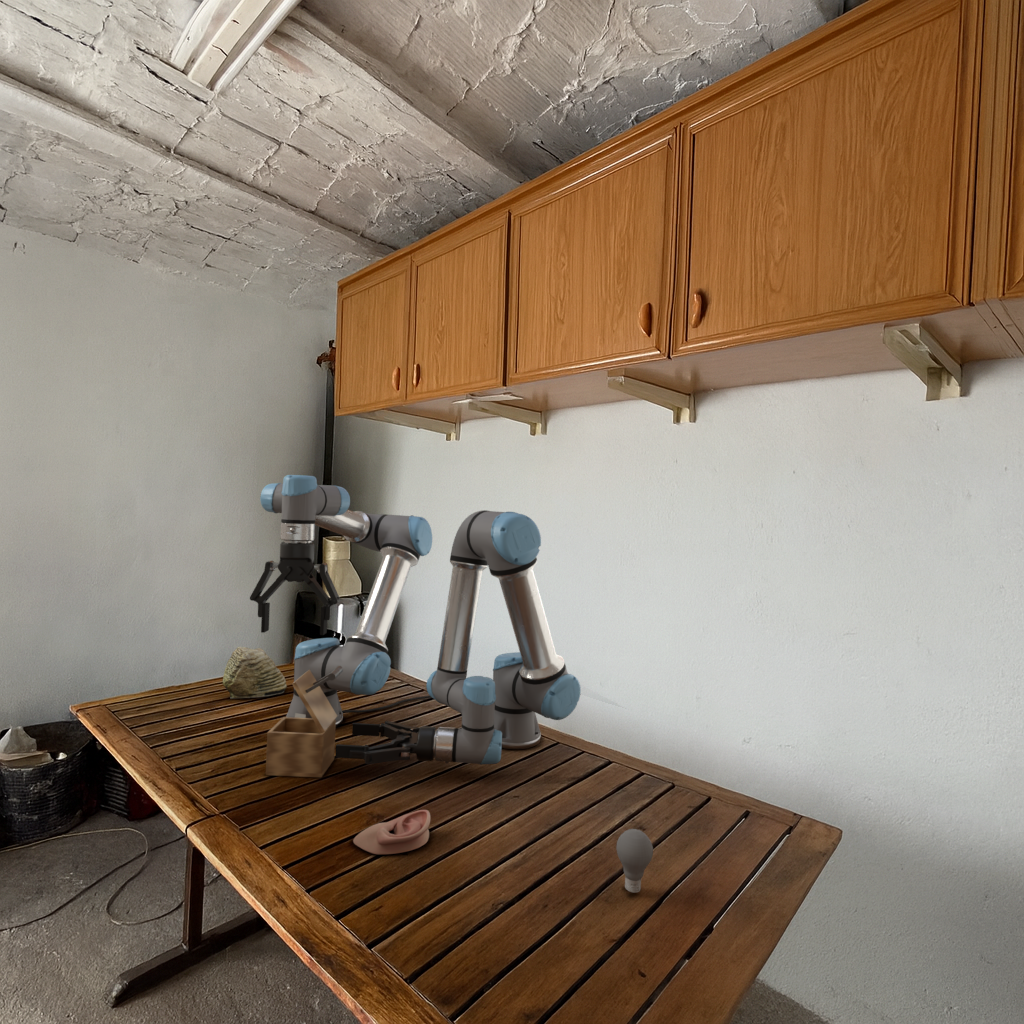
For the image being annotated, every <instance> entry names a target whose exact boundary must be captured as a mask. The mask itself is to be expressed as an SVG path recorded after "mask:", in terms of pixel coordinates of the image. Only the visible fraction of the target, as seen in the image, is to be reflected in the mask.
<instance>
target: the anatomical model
mask: <svg viewBox="0 0 1024 1024" xmlns="http://www.w3.org/2000/svg"><path fill="white" fill-rule="evenodd" d="M430 824H431V813H430V811H429V810H428V809H420V810H419V809H418V810H416V811H412V812H409V813H405V814H403V815H401V816H398V817H396V818H394V819H391V820H389V821H385V822H378V823H375V824H373V825H370V826H369V827H367V828H365V829H364V830H362V831H360V832H359V833H358V834H357V835H355V837H354V838H353V839H352V842H353V844H354V845H355V846H356V847H358V848H360V849H362V850H363V851H365V852H368V853H369V854H374V855H378V856H379V855H393V854H400V853H402V854H403V853H406V852H410V851H413V850H417V849H419V848H421V847H422V846H424V845H426V844H427V842H428V841H429V838H430V830H429V827H430Z"/></svg>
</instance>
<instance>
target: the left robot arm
mask: <svg viewBox="0 0 1024 1024" xmlns="http://www.w3.org/2000/svg"><path fill="white" fill-rule="evenodd" d="M259 499H260V500H259V501H260V505H261V507H262V508H263V510H265V512H269V513H273V514H281V521H280V540H281V542H280V543H279V561H278V562H276V561H274V560H269V561H268V560H267V561H266V562H265V564H264V569H263V572H262V574H261V576H260V578H259V580H258V581H257V583H256V585H255V587H254V589H253V590H252V593H250V596H249V600H250V601H252V602H255V603H257V617H258V618H261V619H260V620H261V623H260V633H261V634H263V633H264V634H265V633H266V632H268V631H269V630H270V610H271V608H270V606H271V603H270V602H268V600H269V599H270V598H271V597H272V596H273V594H274V593H275V592H276V591H277V590H279V588H280V587H281V586H282V585H283V583H284V582H286V581H287V583H292V582H296V583H303V582H305V584H307V586H308V587H310V589H311V590H312V591H313V592H314V594H315V595H316V596H317V598H318V599H319V600H320V601H321V603H322V604H323V605H321V607H320V622H319V623H320V625H319V635H320V636H324V635H326V634H327V633H328V632H327V631H328V629H327V628H328V621H330V620H331V619H332V615H333V614H332V612H333V606H334V605H337V604H339V603H340V602H341V598H340V595H339V593H338V591H337V588H336V587H335V584H334V582H333V580H332V578H331V576H330V573H329V566H328V563H326V562H324V563H318V564H317V563H315V543H314V542H313V541H315V538H316V527H319V528H321V529H325V530H327V531H330V532H333V533H335V534H338V535H340V536H343V537H344V539H345V540H346V541H348V542H350V543H352V544H356V545H358V546H360V547H363V548H365V549H368V550H371V551H375V552H379V553H380V556H381V557H382V559H381V562H380V565H379V568H378V571H377V573H376V576H375V579H374V581H373V584H372V587H371V589H370V592H369V595H368V597H367V601H366V602H365V606H364V608H363V611H362V614H361V617H360V618H359V622H358V624H357V627H356V630H355V633H353V634H352V635H350V636H348V637H347V638H346V641H345V644H344V646H341V645H340V644H341V643H340V640H339V638H337V637H321V638H313V639H307V640H304V641H302V642H299V643H298V644H297V645H296V647H295V652H294V653H295V654H294V657H293V660H294V661H293V662H294V663H293V664H294V668H293V682H294V681H296V680H297V679H298V678H299V677H301V676H302V675H303V674H304V673H305V672H307V671H308V670H310V671H311V673H312V674H313V676H314V678H315V679H316V681H318V680H320V679H321V678H323V677H325V676H326V675H328V674H330V673H331V672H332V671H333V670H334V669H335V668H336V667H338V666H341V667H342V668H343V671H342V672H341V673H340V674H339V675H338V676H337V677H336V678H335V679H334V680H328V681H327V682H325V683H323V684H322V685H320V688H321V689H322V691H323V693H324V694H325V696H326V698H327V699H328V701H329V703H330V704H331V706H332V708H333V709H334V711H335V713H336V714H337V717H336V718H335V719H336V726H335V728H337V727H339V726H340V725H342V723H343V722H344V714H353V713H355V714H357V713H358V714H362V713H363V714H364V713H369V712H370V713H371V712H377V711H381V710H384V709H389V708H392V707H395V706H397V705H401V704H404V703H407V702H411V701H417V700H425V699H433V698H432V697H431V696H430V695H423V696H416V697H410V698H406V699H402V700H399V701H396V702H394V703H390V704H388V705H384V706H380V707H374V708H369V709H342V706H341V702H340V699H339V695H338V691H340V692H344V693H351V694H354V695H356V696H360V695H362V696H364V695H365V696H372V695H375V694H376V693H377V692H379V691H380V690H382V689H383V687H384V686H385V685H386V683H387V682H388V679H389V677H390V673H391V668H392V667H391V664H392V660H391V658H390V656H389V654H388V652H389V649H388V647H387V645H386V640H387V638H388V635H389V633H390V630H391V626H392V623H393V620H394V618H395V615H396V611H397V608H398V606H399V603H400V600H401V597H402V594H403V592H404V588H405V585H406V582H407V579H408V576H409V573H410V570H411V568H413V567H416V566H417V565H418V563H419V560H420V558H421V557H424V556H425V557H426V556H427V555H429V553H430V552H431V550H432V546H433V531H432V527H431V525H430V523H429V521H428V520H427V519H426V518H425V517H423V516H417V515H416V516H415V515H400V514H385V513H368V512H364V511H361V510H355V511H353V510H351V509H349V508H350V505H351V497H350V494H349V491H348V490H347V489H345V488H344V487H342V486H338V485H336V484H330V485H327V484H318V481H317V477H316V476H314V475H304V474H303V475H302V474H287V475H285V476H284V477H283V479H282V482H276V483H275V482H274V483H268V484H266V485H265V486H264V487H263V488H262V490H261V492H260V498H259ZM277 569H278V571H279V573H280V574H279V576H278V577H277V578H276V579H275V580H274V582H273V583H271V585H269V587H268V588H267V589H266V590H265V591H264V589H265V587H266V586H267V584H268V582H269V580H270V578H271V576H272V575H273V573H274V572H275V571H276V570H277ZM315 570H316V572H317V573H318V574H319V577H320V579H321V580H322V583H323V585H324V587H325V589H326V591H327V592H326V591H325V590H324V589H323V587H322V586H321V584H319V582H318V581H317V579H316V577H315V576H314V575H313V573H314V571H315ZM262 592H263V593H262ZM292 696H293V697H292V699H291V702H290V704H289V708H288V711H287V713H286V715H285V717H295V718H312V717H311V715H310V713H309V712H308V710H307V708H306V707H305V705H304V703H303V702H302V700H301V698H300V697H299V695H298V693H297V692H296V690H295V688H294V687H293V695H292Z"/></svg>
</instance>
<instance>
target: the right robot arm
mask: <svg viewBox="0 0 1024 1024" xmlns="http://www.w3.org/2000/svg"><path fill="white" fill-rule="evenodd" d="M541 546H542V535H541V532H540V529H539V527H538V525H537V524H536V523H535V521H534V520H533V519H532V518H530V517H529V516H527V515H525V514H524V513H519V512H516V511H495V510H494V511H492V510H478V511H475V512H473V513H471V514H469V515H468V516H467V517H466V518H465V519H464V520H463V521H461V524H460V526H459V527H458V528H457V531H456V533H455V536H454V539H453V542H452V545H451V551H450V552H451V553H450V556H449V563H450V565H451V566H452V569H451V570H452V571H451V575H450V576H451V577H450V583H449V590H448V595H447V602H446V609H445V616H444V620H443V621H444V622H443V627H442V635H441V641H440V647H439V654H438V660H437V661H438V662H437V666H436V667H437V668H436V670H434V671H433V672H431V674H430V675H429V677H428V678H427V680H426V692H427V693H428V696H431V697H432V698H431V699H433V700H435V701H436V702H437V703H439V704H442V705H444V706H445V707H448V708H450V709H452V710H453V711H456V712H457V713H459V714H461V728H459V727H450V726H449V727H448V726H447V727H446V726H439V727H437V728H436V727H435V726H421V727H418V726H410V725H406V724H402V723H398V722H394V721H390V720H385V721H384V722H382V723H365V722H364V723H363V722H353V723H352V727H351V729H352V730H351V735H352V736H365V737H379V738H384V737H385V738H388V739H390V740H391V741H389V742H386V743H382V744H377V745H372V746H369V745H368V744H365V745H358V744H341V743H337V744H335V754H334V759H335V758H337V759H352V760H353V759H354V760H355V759H356V760H364V764H365V765H373V764H374V765H375V764H382V763H389V762H394V761H396V762H397V761H410V760H411V754H415V755H416V759H417V760H418V761H419V762H420V761H421V762H433V761H434V760H435V762H439V763H440V762H443V763H445V764H446V765H448V764H450V763H459V764H460V763H461V764H474V765H475V764H476V765H497V764H499V763H500V761H501V759H502V749H504V750H505V749H506V750H524V749H531V748H533V747H536V746H537V745H539V744H540V743H541V739H542V738H541V737H542V735H541V734H542V733H541V729H540V725H539V722H538V718H537V715H540V716H542V717H543V718H546V719H551V720H554V721H560V720H561V721H562V720H564V719H566V718H568V717H569V716H571V714H572V713H573V712H574V710H575V709H576V708H577V706H578V703H579V701H580V697H581V692H582V689H581V683H580V681H579V679H578V678H577V677H576V676H575V675H574V674H572V673H569V672H568V669H567V666H566V662H565V659H564V657H563V656H562V655H561V654H558V653H557V652H556V648H555V644H554V641H553V637H552V633H551V629H550V626H549V622H548V619H547V615H546V611H545V608H544V604H543V600H542V597H541V592H540V590H539V586H538V582H537V578H536V575H535V571H534V568H535V567H536V565H537V564H538V558H537V556H538V555H539V553H540V551H541V550H540V547H541ZM487 568H488V570H489V573H490V575H491V576H493V577H495V578H497V579H498V581H499V584H500V589H501V591H502V592H501V593H502V595H503V598H504V602H505V606H506V609H507V612H508V613H507V614H508V616H509V619H510V623H511V626H512V630H513V633H514V638H515V641H516V644H517V647H518V651H519V652H506V653H501V654H498V655H497V656H495V658H494V661H493V668H492V677H488V676H484V675H471V676H468V668H469V660H470V655H471V649H472V644H473V643H472V642H473V637H474V630H475V623H476V617H477V610H478V604H479V598H480V591H481V585H482V579H483V572H484V570H486V569H487ZM467 676H468V677H467ZM536 714H537V715H536Z"/></svg>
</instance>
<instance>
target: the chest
mask: <svg viewBox="0 0 1024 1024" xmlns="http://www.w3.org/2000/svg"><path fill="white" fill-rule="evenodd" d="M335 726H336V719H335V720H334V721H333V722H332V723H331V725H330V726H329V727H328V728H327V729H326V731H325V732H323V733H321V732H320V730H319V728H318V727H317V725H316V723H315V722H314V720H313V718H295V717H286V716H282V718H281V719H280V720H278V722H277V723H276V724H274V725H273V726H272V728H270V729H269V730H268V731H267V733H266V753H265V754H266V755H265V756H266V757H265V776H276V777H278V776H279V777H301V778H323V776H324V775H325V773H326V772H327V770H328V769H329V767H330V766H331V764H332V763H333V762H334V760H335V754H336V727H335Z"/></svg>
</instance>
